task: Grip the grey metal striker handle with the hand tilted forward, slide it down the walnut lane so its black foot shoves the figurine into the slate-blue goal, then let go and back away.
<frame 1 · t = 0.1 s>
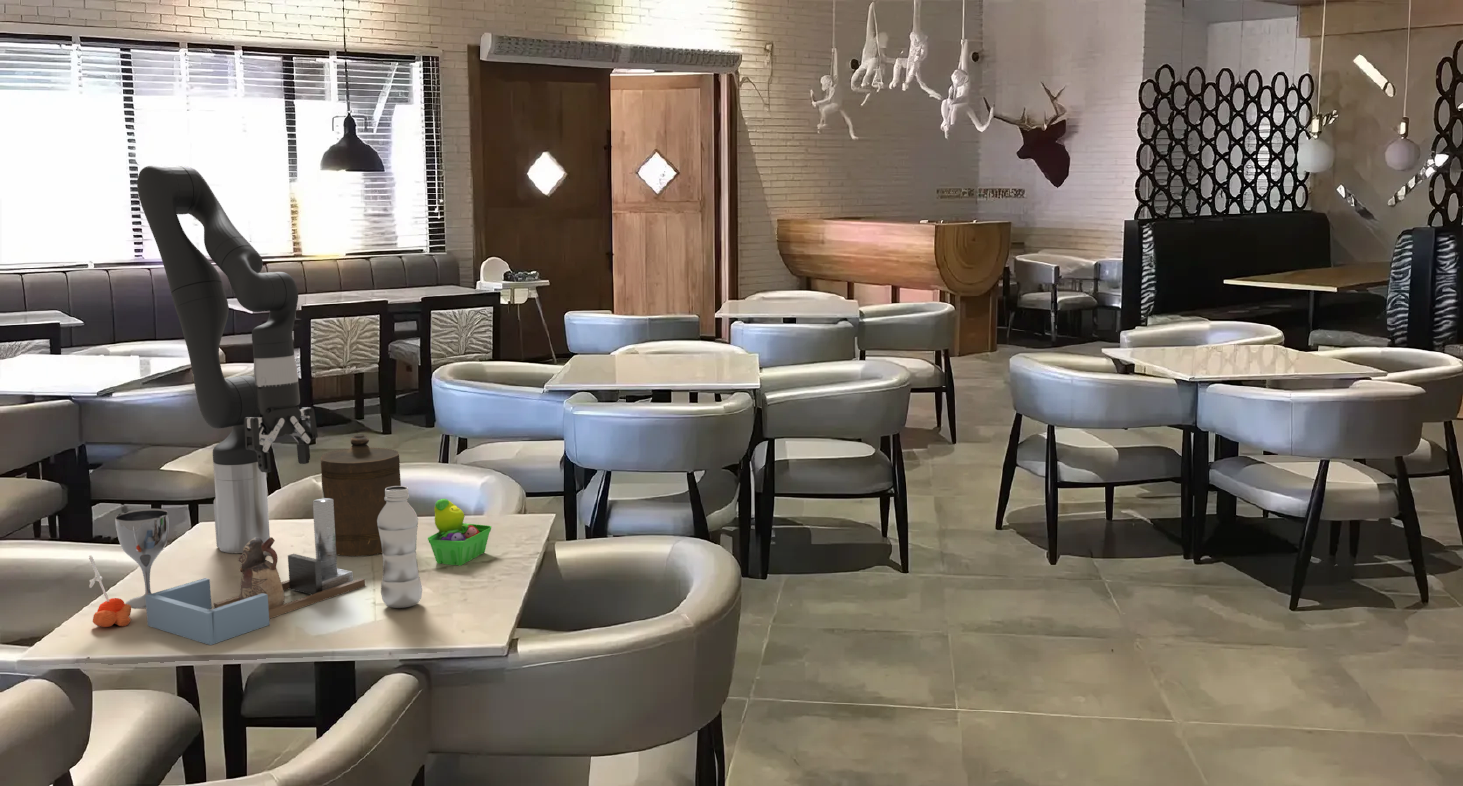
hand: (285, 467, 230), 17 cm above the table, tool pointing down, fingers open, 8 cm apart
plastic bottle: (402, 607, 205), on the table
orange lumpy food: (109, 627, 196), on the table
striker: (320, 544, 214), point 8 cm above the table, slide at 0.0 cm
fruit basket: (458, 559, 233), on the table
figurine: (262, 609, 205), on the table
wine glass: (148, 602, 208), on the table
lane rails: (292, 597, 210), on the table
goal: (210, 624, 197), on the table
wooden container: (365, 547, 240), on the table
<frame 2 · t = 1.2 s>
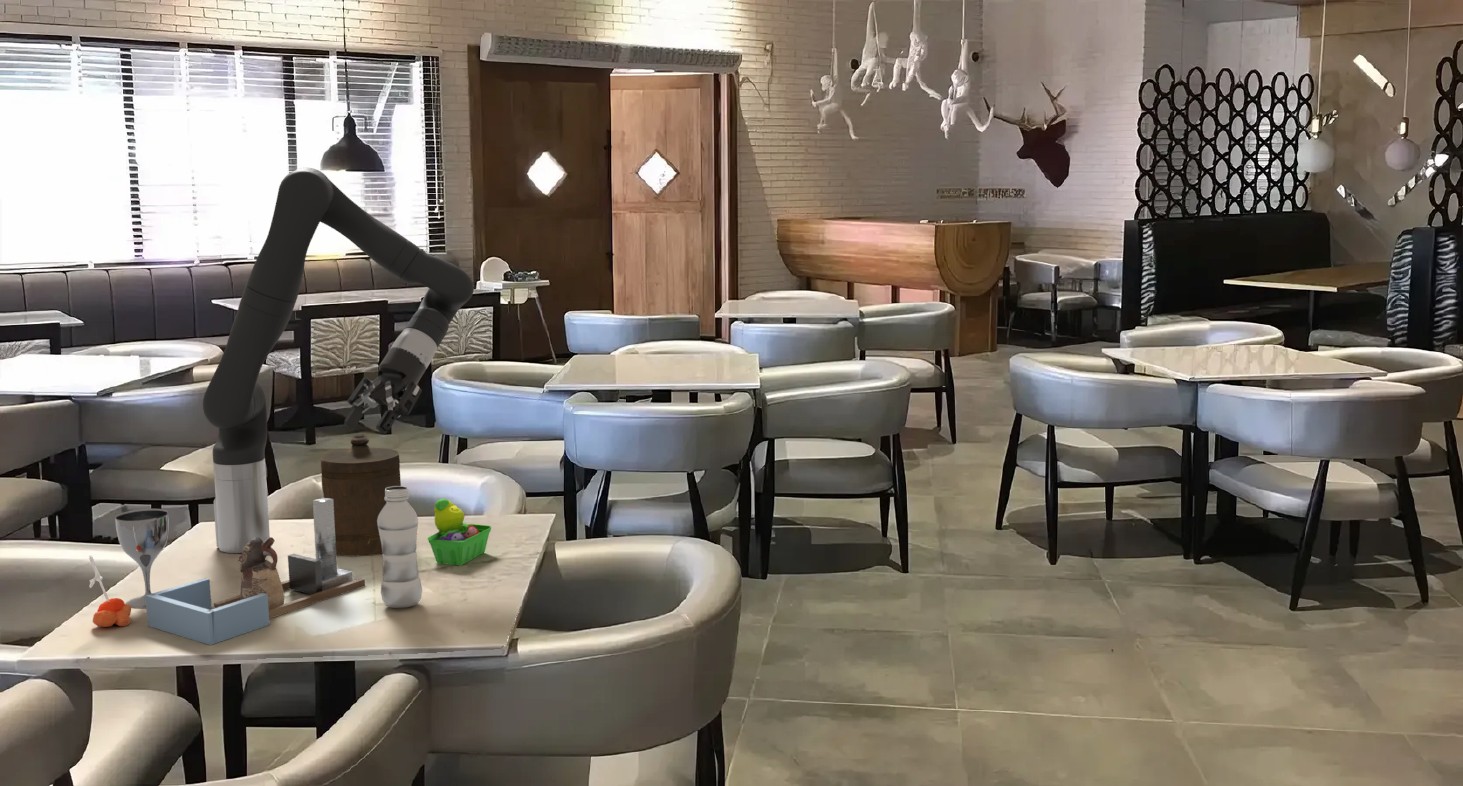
hand: (364, 429, 223), 26 cm above the table, tool tilted 45°, fingers open, 8 cm apart
nothing on the table moved.
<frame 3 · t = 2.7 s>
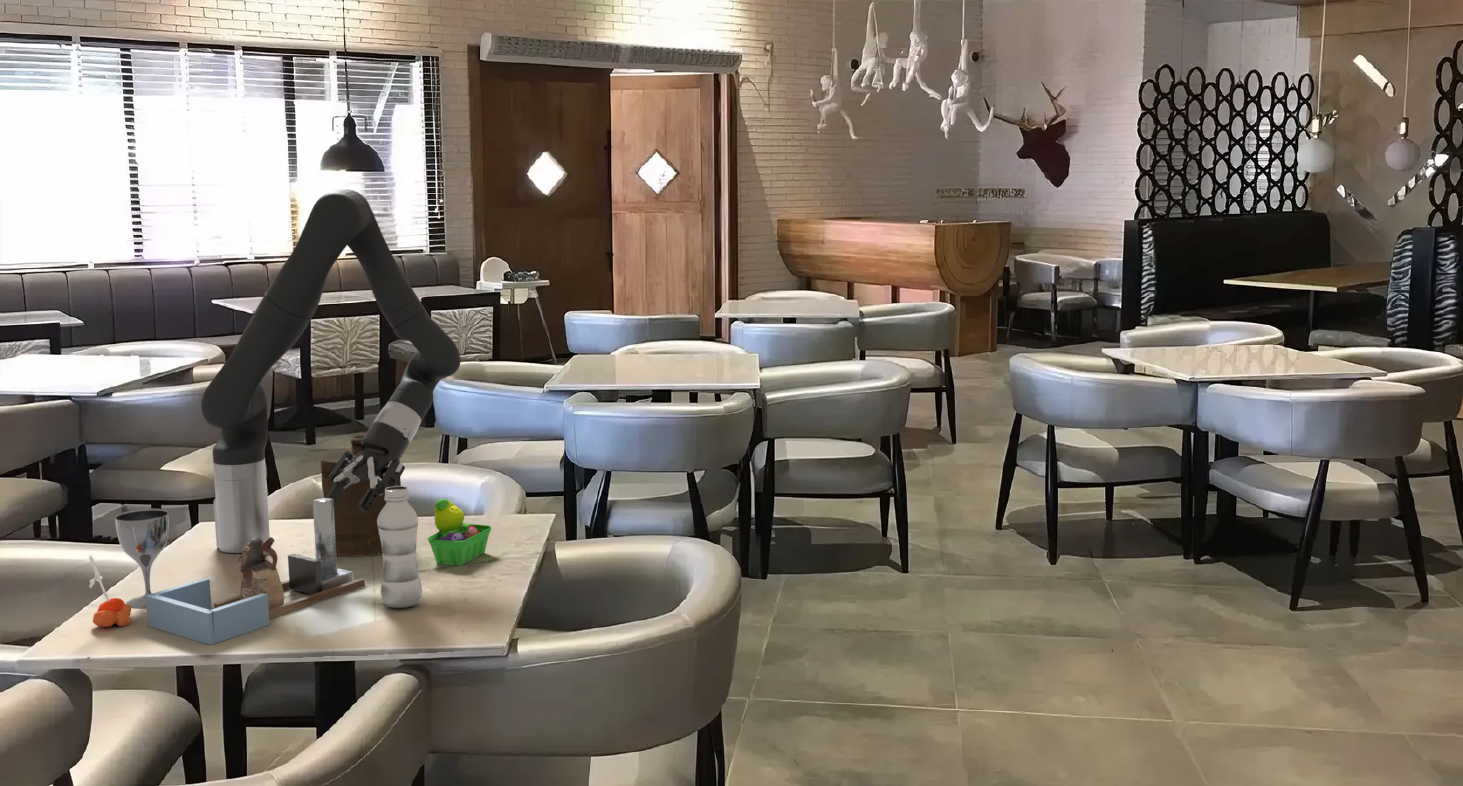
hand: (345, 506, 218), 13 cm above the table, tool tilted 45°, fingers open, 8 cm apart
nothing on the table moved.
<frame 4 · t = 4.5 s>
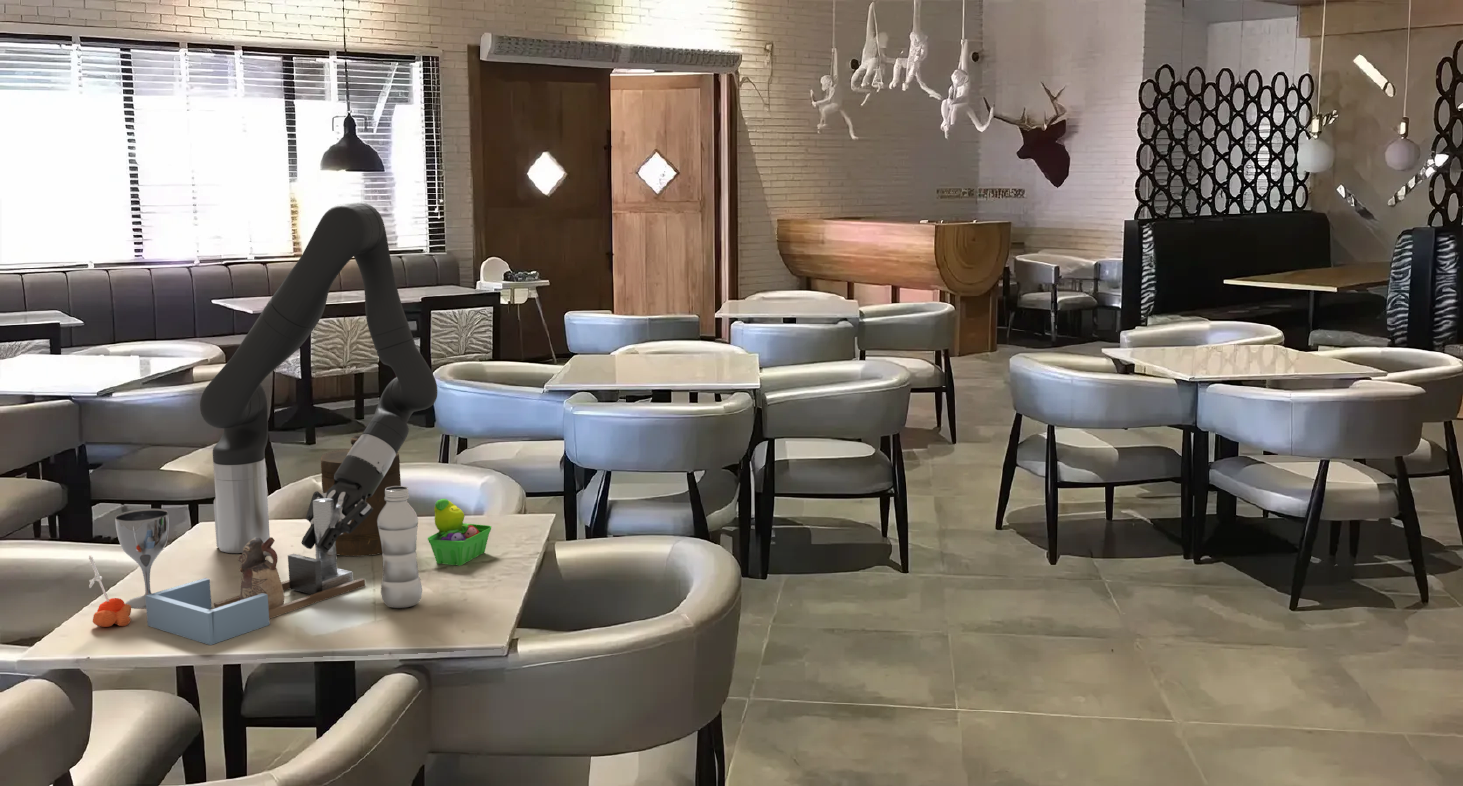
hand: (313, 547, 213), 8 cm above the table, tool tilted 45°, fingers closed on striker, 3 cm apart
striker: (320, 544, 214), point 8 cm above the table, slide at 0.0 cm, touching gripper
everything else where it was.
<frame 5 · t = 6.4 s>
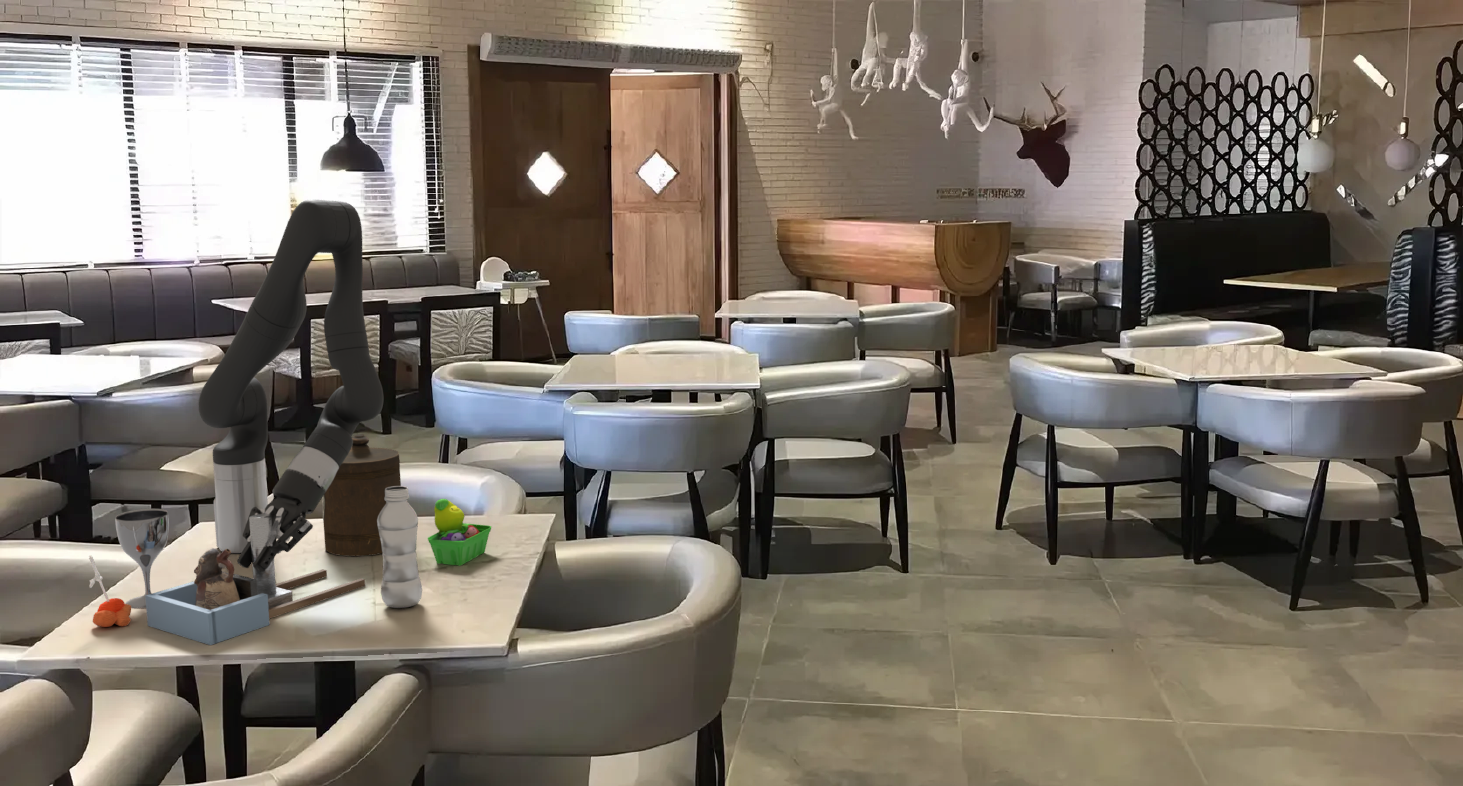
hand: (250, 567, 202), 7 cm above the table, tool tilted 45°, fingers closed on striker, 3 cm apart
striker: (257, 562, 203), point 8 cm above the table, slide at 12.7 cm, touching gripper, figurine
figurine: (218, 622, 198), on the table, touching striker
everything else where it was.
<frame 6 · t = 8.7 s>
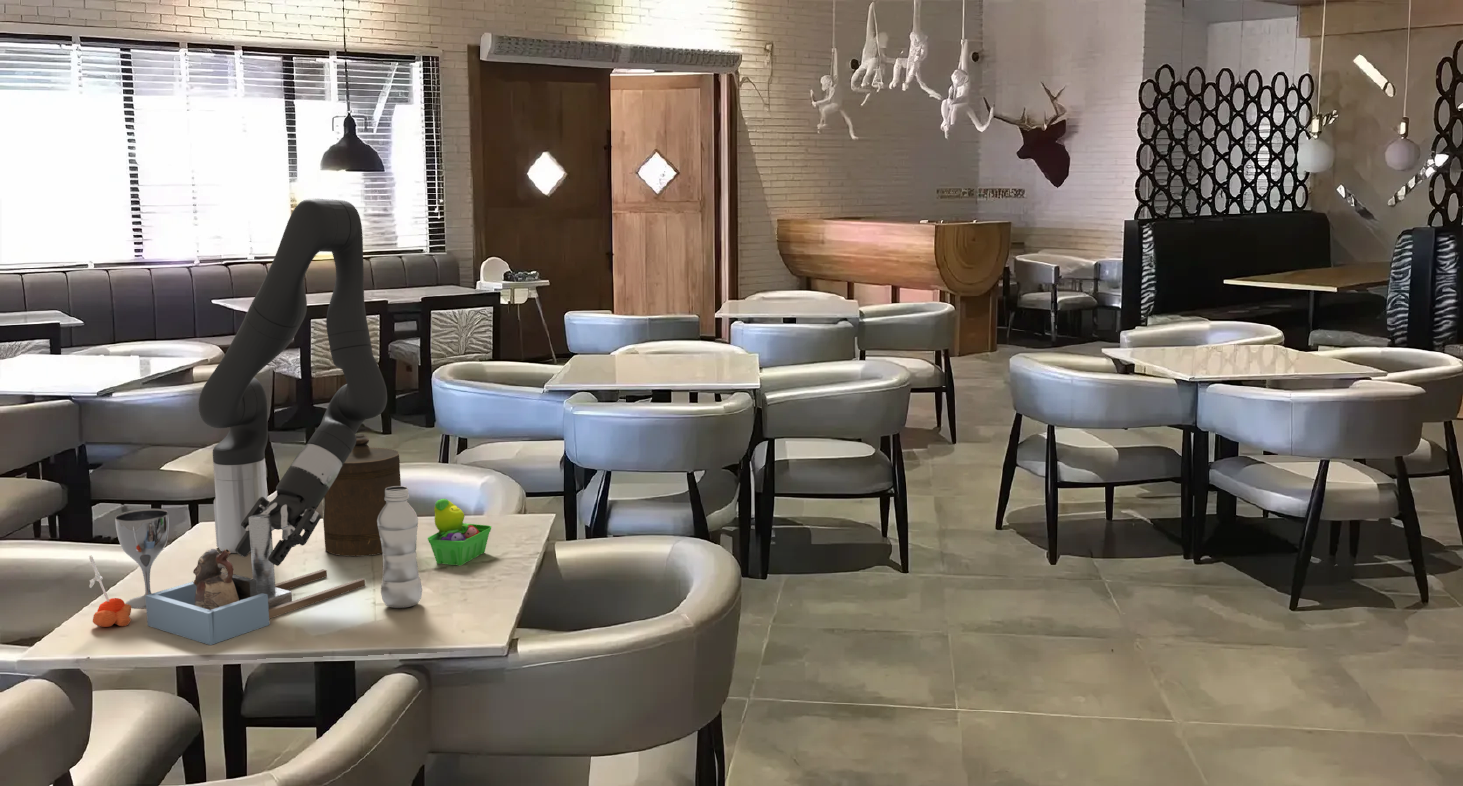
hand: (256, 558, 203), 8 cm above the table, tool tilted 45°, fingers open, 8 cm apart
striker: (256, 562, 203), point 8 cm above the table, slide at 12.8 cm
figurine: (217, 623, 198), on the table
everything else where it was.
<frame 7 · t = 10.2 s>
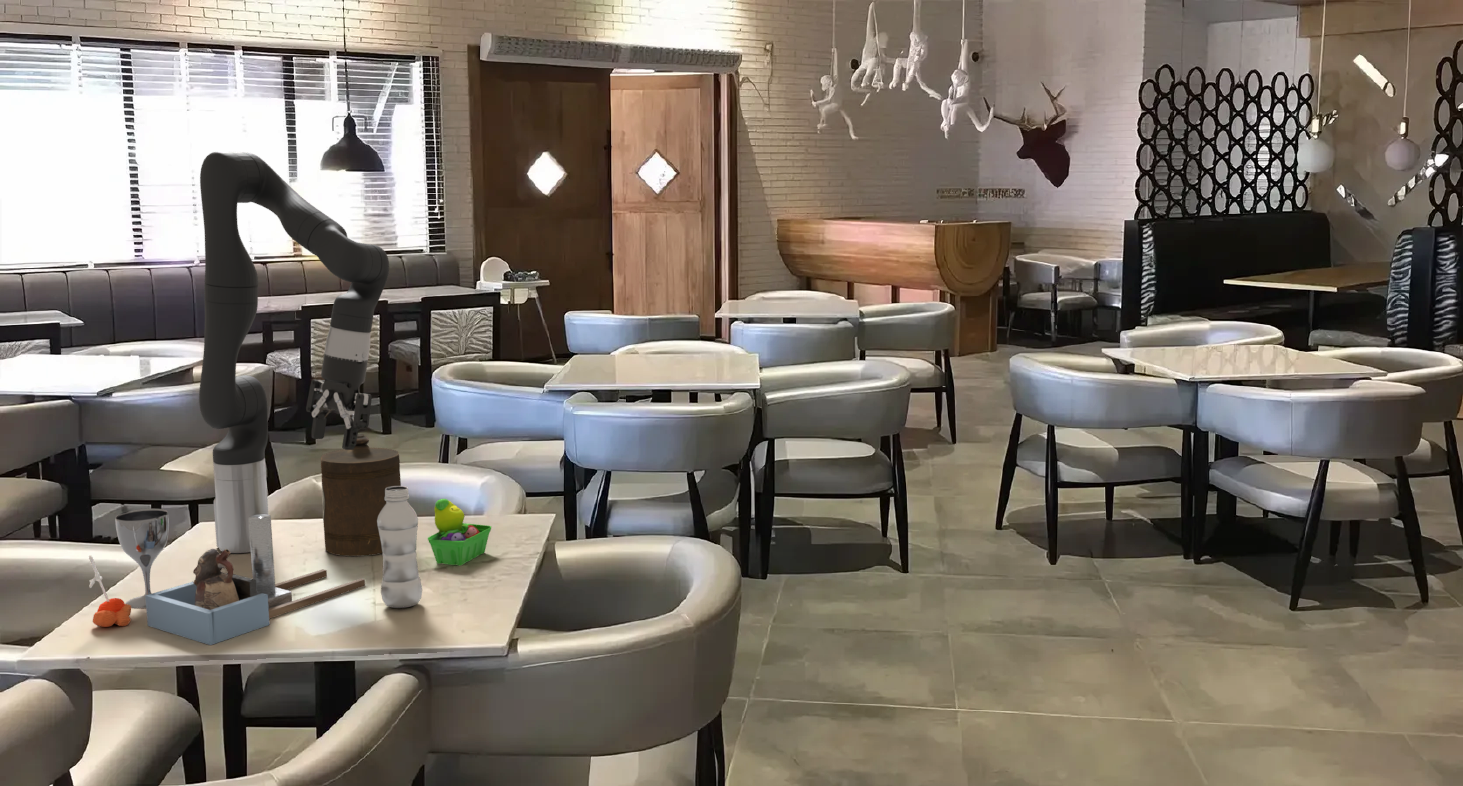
hand: (332, 444, 221), 24 cm above the table, tool pointing down, fingers open, 8 cm apart
nothing on the table moved.
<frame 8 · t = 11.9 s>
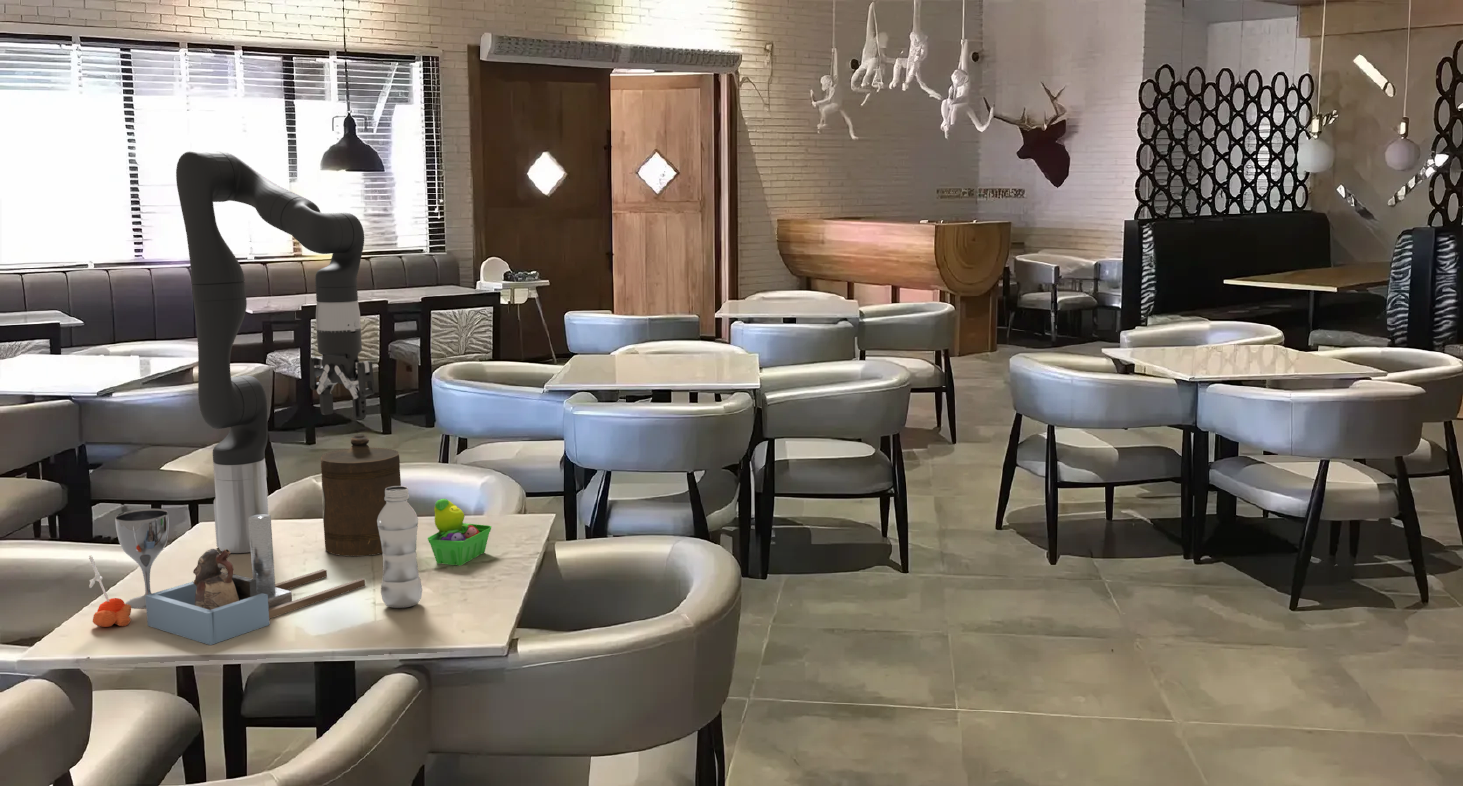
hand: (343, 416, 222), 28 cm above the table, tool pointing down, fingers open, 8 cm apart
nothing on the table moved.
at the end: figurine inside the target area (1.9 cm from its centre), on the table; striker slide at 12.8 cm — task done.
